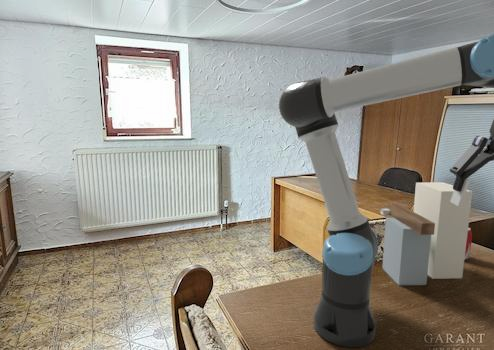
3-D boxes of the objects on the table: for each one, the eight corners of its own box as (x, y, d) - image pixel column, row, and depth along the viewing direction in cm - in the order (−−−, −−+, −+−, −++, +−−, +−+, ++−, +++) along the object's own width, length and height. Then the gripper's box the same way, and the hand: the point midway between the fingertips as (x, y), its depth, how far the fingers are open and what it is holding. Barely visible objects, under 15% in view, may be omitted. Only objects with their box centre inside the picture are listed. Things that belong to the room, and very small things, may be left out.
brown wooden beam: (412, 234, 93) (413, 223, 93) (380, 213, 115) (380, 204, 114) (442, 234, 94) (443, 223, 93) (404, 213, 115) (405, 203, 115)
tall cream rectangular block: (432, 278, 106) (441, 191, 101) (409, 259, 121) (415, 182, 116) (462, 278, 106) (472, 191, 101) (435, 259, 121) (442, 182, 116)
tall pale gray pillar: (398, 285, 102) (403, 229, 98) (382, 268, 113) (385, 217, 110) (426, 284, 102) (431, 228, 99) (407, 267, 114) (411, 217, 110)
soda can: (473, 261, 119) (477, 230, 117) (454, 261, 119) (458, 230, 117) (461, 253, 126) (464, 224, 124) (443, 253, 126) (446, 224, 124)
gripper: (476, 113, 65) (443, 207, 71) (583, 129, 68) (542, 219, 74) (451, 109, 72) (423, 195, 78) (549, 124, 75) (514, 207, 81)
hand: (481, 207), depth 76 cm, fingers open, 13 cm apart
